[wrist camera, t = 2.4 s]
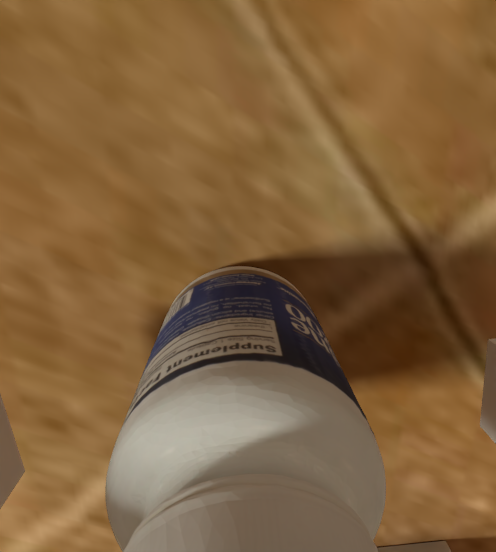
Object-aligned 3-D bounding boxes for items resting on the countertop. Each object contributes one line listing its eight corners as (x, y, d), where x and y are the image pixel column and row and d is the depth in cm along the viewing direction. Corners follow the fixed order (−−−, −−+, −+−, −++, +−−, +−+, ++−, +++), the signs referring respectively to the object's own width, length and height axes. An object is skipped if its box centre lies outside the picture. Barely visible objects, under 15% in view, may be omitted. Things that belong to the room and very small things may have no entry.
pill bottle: (330, 377, 15) (489, 755, 6) (192, 414, 15) (131, 832, 6) (295, 241, 13) (439, 465, 4) (141, 286, 14) (-51, 590, 4)
